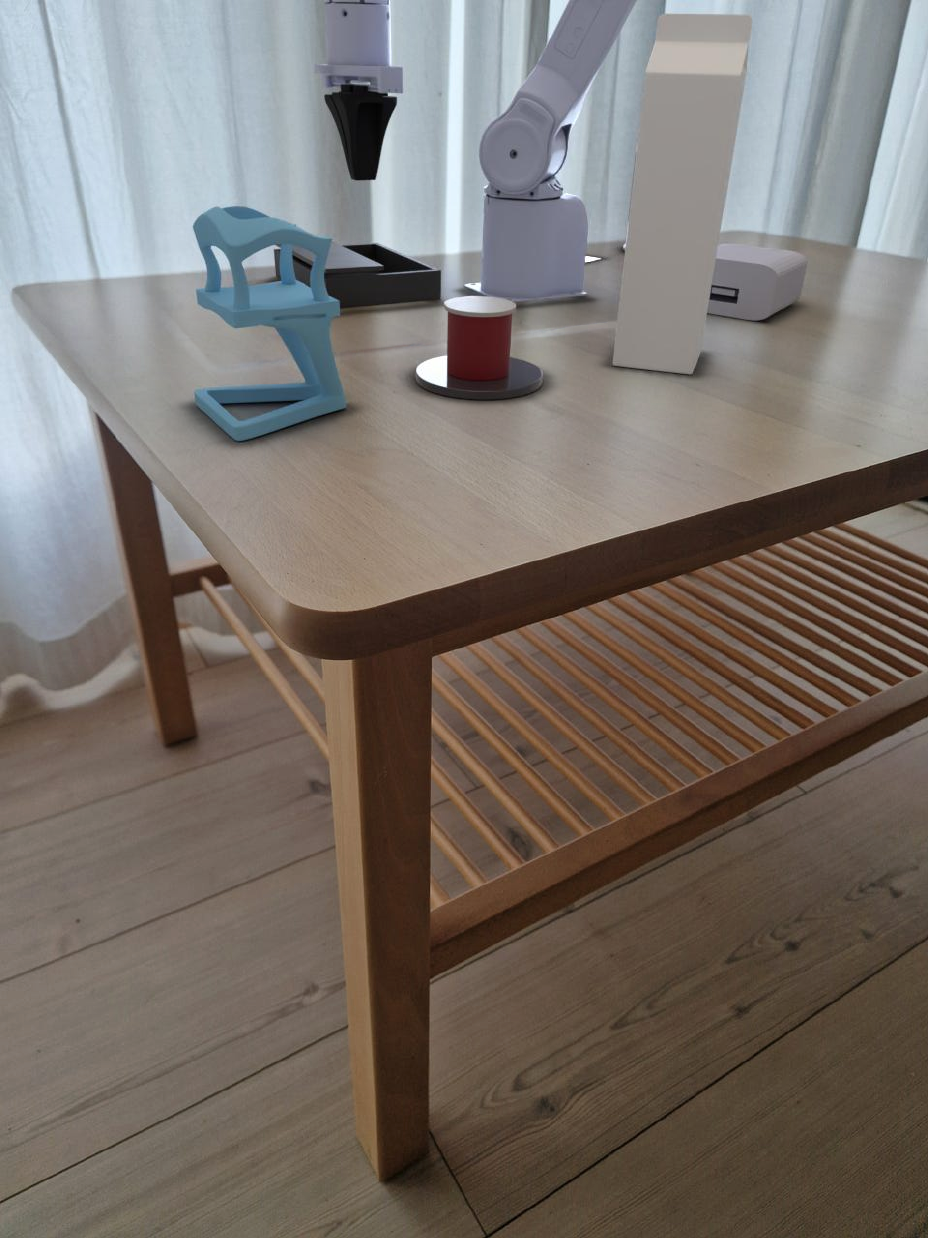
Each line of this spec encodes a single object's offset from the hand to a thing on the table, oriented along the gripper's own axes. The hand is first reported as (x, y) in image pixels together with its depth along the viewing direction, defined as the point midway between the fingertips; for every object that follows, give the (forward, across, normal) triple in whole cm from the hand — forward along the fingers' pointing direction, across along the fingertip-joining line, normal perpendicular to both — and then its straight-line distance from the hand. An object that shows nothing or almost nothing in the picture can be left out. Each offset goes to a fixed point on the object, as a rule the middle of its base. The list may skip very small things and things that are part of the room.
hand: (363, 179), depth 84 cm
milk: (+10, +34, +10) cm, 36 cm away
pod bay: (+9, +4, -3) cm, 10 cm away
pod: (+9, +33, -5) cm, 34 cm away
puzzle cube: (+10, -4, +25) cm, 27 cm away
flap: (+6, +3, -5) cm, 9 cm away
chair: (+10, +33, -20) cm, 40 cm away
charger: (+10, +21, +31) cm, 39 cm away
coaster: (+9, +32, -5) cm, 34 cm away
